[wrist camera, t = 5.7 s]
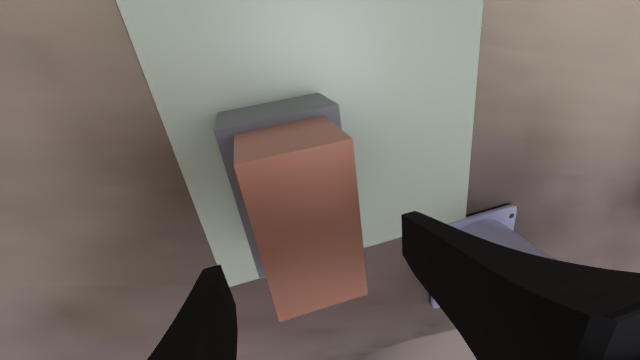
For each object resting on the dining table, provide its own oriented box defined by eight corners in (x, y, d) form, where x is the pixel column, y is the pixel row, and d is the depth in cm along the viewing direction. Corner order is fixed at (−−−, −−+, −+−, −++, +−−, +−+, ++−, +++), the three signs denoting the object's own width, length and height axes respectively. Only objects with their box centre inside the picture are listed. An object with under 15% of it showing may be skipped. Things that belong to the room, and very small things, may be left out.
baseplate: (462, 215, 26) (465, 218, 26) (226, 284, 23) (225, 288, 22) (488, -127, 16) (493, -131, 16) (82, -95, 13) (78, -98, 13)
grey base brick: (336, 217, 22) (355, 249, 19) (255, 238, 21) (259, 278, 18) (318, 92, 18) (338, 104, 15) (217, 112, 17) (213, 130, 14)
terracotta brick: (342, 245, 18) (368, 294, 15) (270, 266, 18) (279, 322, 14) (324, 115, 15) (352, 138, 11) (233, 134, 14) (233, 165, 11)
